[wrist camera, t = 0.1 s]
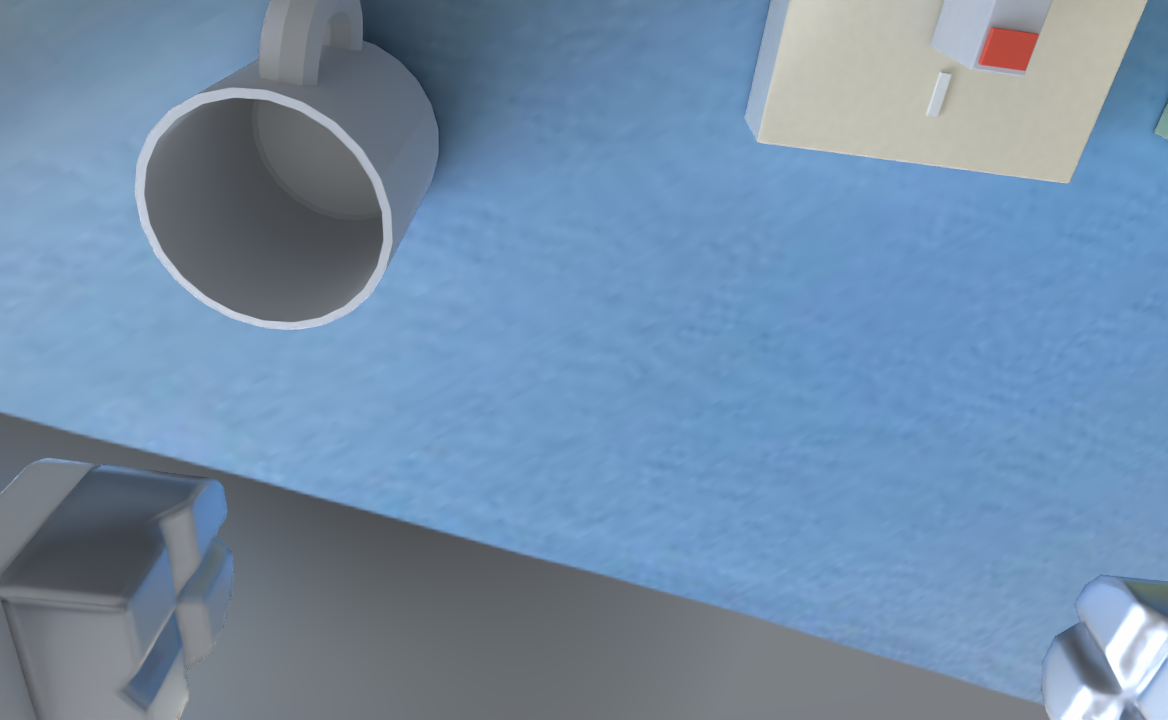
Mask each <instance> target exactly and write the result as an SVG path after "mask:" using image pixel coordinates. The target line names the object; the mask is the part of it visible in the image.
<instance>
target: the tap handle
mask: <svg viewBox="0 0 1168 720" xmlns="http://www.w3.org/2000/svg"><path fill="white" fill-rule="evenodd" d="M1052 1H1053V0H944V3H943V7H942V10H941V13H940V16H939V19H938V22H937V25H936V29H935V32H934V35H933V38H932V41H931V44H930V47H932V48H933V49H935V50H937V51H939V52H941V53H942V54H944V55H946V56H948V57H950V58H951V59H953V60H955V61H957V62H959V63H960V64H962V65H964V66H966V67H968V68H969V69H971V70H977V71H984V72H991V73H998V74H1006V75H1013V76H1020V77H1022V76H1024V75H1025V72H1026V70H1027V67H1028V64H1029V62H1030V59H1031V56H1032V54H1033V51H1034V48H1035V46H1036V43H1037V40H1038V38H1039V35H1040V32H1041V30H1042V27H1043V24H1044V22H1045V19H1046V16H1047V14H1048V11H1049V8H1050V6H1051V3H1052Z"/></svg>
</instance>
